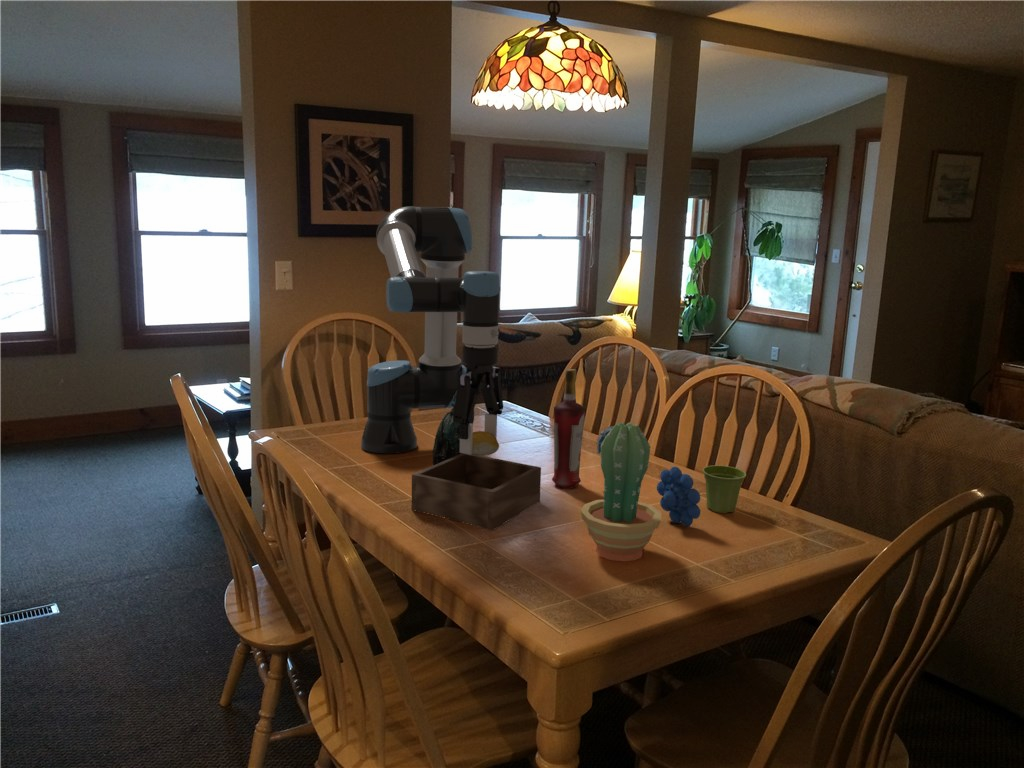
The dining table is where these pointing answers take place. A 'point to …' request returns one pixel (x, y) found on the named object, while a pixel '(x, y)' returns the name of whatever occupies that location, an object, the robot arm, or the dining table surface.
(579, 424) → the liquor
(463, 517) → the box
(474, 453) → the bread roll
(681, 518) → the grapes
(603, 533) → the potted cactus
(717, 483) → the plant pot
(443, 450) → the dark green bag
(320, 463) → the dining table surface
